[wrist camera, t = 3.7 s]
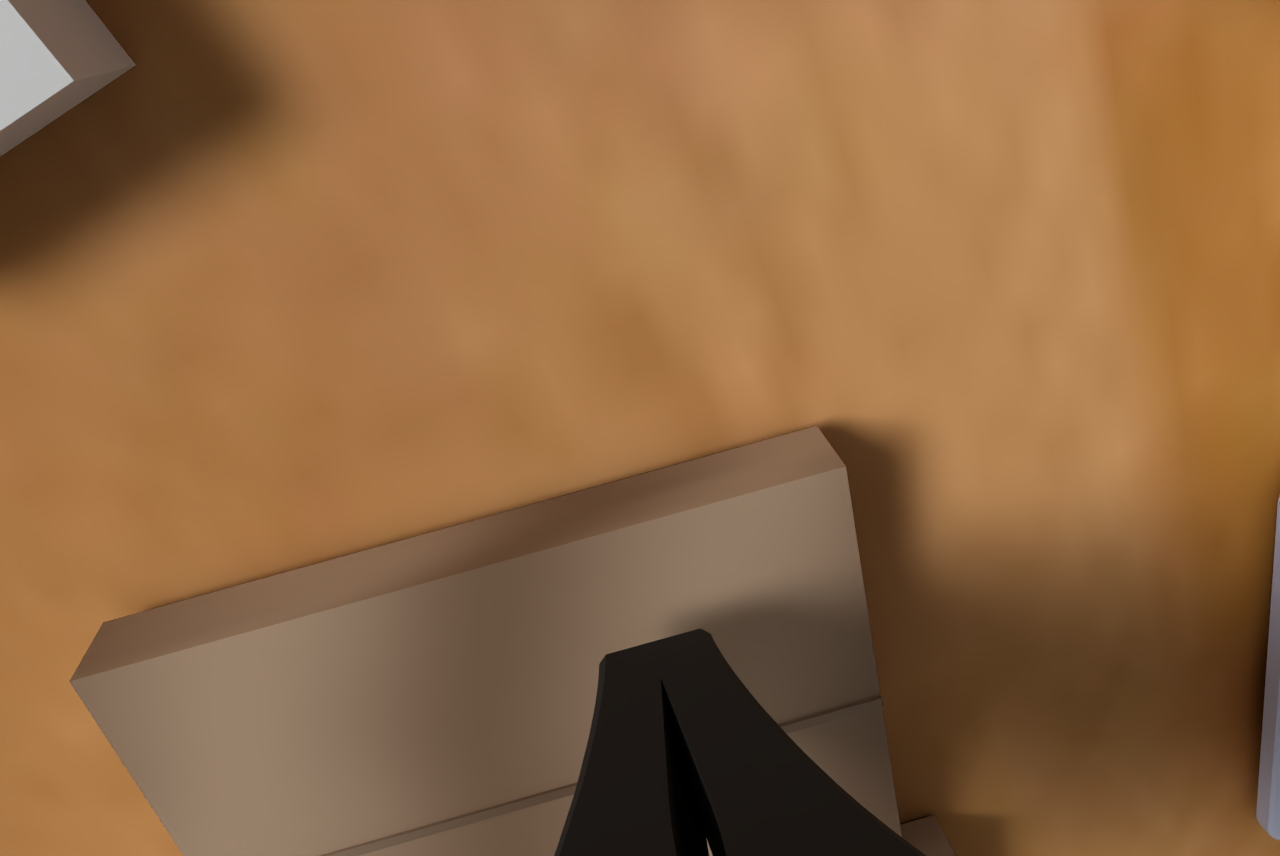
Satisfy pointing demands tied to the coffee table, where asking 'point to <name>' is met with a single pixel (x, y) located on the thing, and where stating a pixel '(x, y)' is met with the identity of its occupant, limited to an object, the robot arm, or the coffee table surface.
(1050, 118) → the coffee table surface
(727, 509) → the board
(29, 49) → the light grey block
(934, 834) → the laid board
